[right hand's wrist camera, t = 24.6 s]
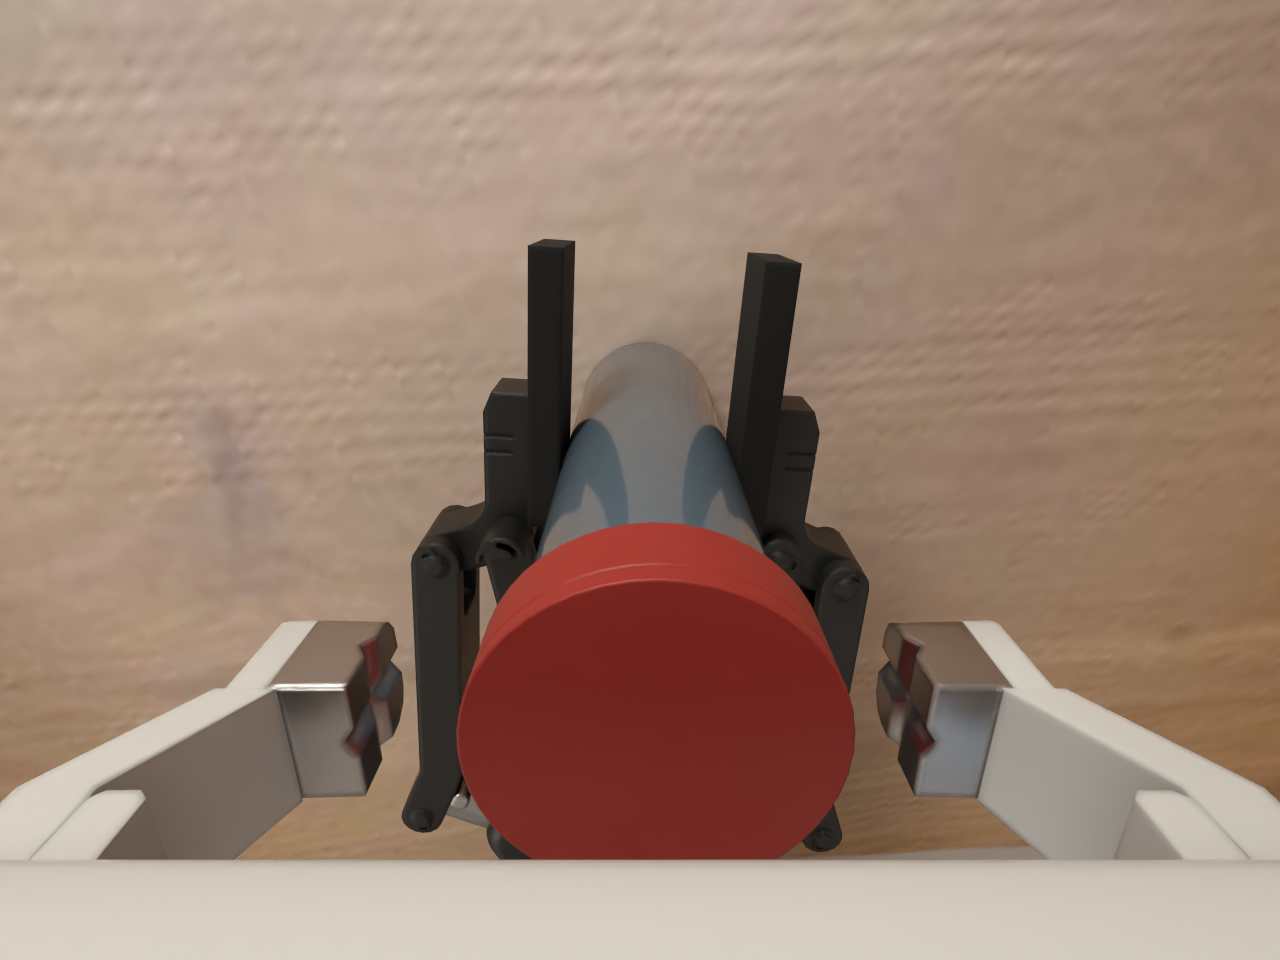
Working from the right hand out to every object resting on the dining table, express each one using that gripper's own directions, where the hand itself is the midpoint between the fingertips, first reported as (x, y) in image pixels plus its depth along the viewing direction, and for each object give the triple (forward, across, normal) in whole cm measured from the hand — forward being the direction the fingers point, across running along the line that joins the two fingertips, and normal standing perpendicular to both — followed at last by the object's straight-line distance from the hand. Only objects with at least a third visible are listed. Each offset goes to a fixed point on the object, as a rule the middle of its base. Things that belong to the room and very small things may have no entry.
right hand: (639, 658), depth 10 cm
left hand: (+8, 0, -5) cm, 10 cm away
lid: (-2, 0, 0) cm, 2 cm away
